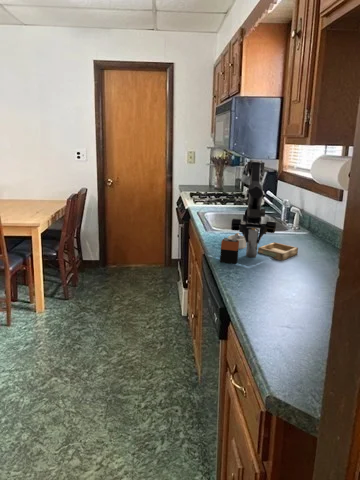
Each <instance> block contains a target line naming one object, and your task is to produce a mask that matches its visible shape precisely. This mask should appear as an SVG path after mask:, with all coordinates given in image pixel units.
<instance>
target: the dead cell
mask: <svg viewBox="0 0 360 480" xmlns="http://www.w3.org/2000/svg"><path fill="white" fill-rule="evenodd" d="M234 235H235V236H234V238H236V239H240V238H241V236H242V235H241V234H240V232H237V233H234Z"/></svg>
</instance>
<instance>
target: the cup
mask: <svg viewBox="0 0 360 480" xmlns="http://www.w3.org/2000/svg"><path fill="white" fill-rule="evenodd" d="M234 236H235V234H231V235H229V236H227V238H228V239H231V240H232V238H234ZM237 240H239V248H238V250H242V249H247V243H246V241H245V238H244V236H243V235H241V238H240V239H237Z"/></svg>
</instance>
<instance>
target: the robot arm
mask: <svg viewBox="0 0 360 480" xmlns="http://www.w3.org/2000/svg"><path fill="white" fill-rule="evenodd" d="M246 162H247V163H246V169H247V174H248V176H249V178H250V180H249V181H250V182H249V184H248V189H246V194H245V195H246V196H245V197H246V199H247V201H248V202H247V207H246V209H245V211H244V214H243V215H242V218H232V219H231V228H230V230H231V231H237V232H238V231H239V232H238V233H241V234H242V236H244V238H245V241H246V244H247V237H248V229H249V228H256V229H259V233H258V244H260V241H261V239H262V237H263V236H264V235H266V234H267V233H268V234H275V233H276V228H277V223H276V221H274V220H266V223H262V218H265V217H266V208H262V203H263V200H264V199H265V198H266V193H265V191H264V190H263V185H262V184H261V175H262V174H263V171H264V170H265V162H263V160H261V159H250V160H249V161H246ZM258 244H257V245H258Z"/></svg>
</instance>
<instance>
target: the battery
mask: <svg viewBox="0 0 360 480" xmlns="http://www.w3.org/2000/svg"><path fill="white" fill-rule="evenodd" d="M238 248H239V240H237V239H236V238H232V240H231V239H228V237H224V238H223V239H222V240H221V244H220V259H219V261H220V263H222V262H225V263H224V264H231V263H232V264H234V265H236V264H238V258H239V257H238V256H239V249H238Z"/></svg>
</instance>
